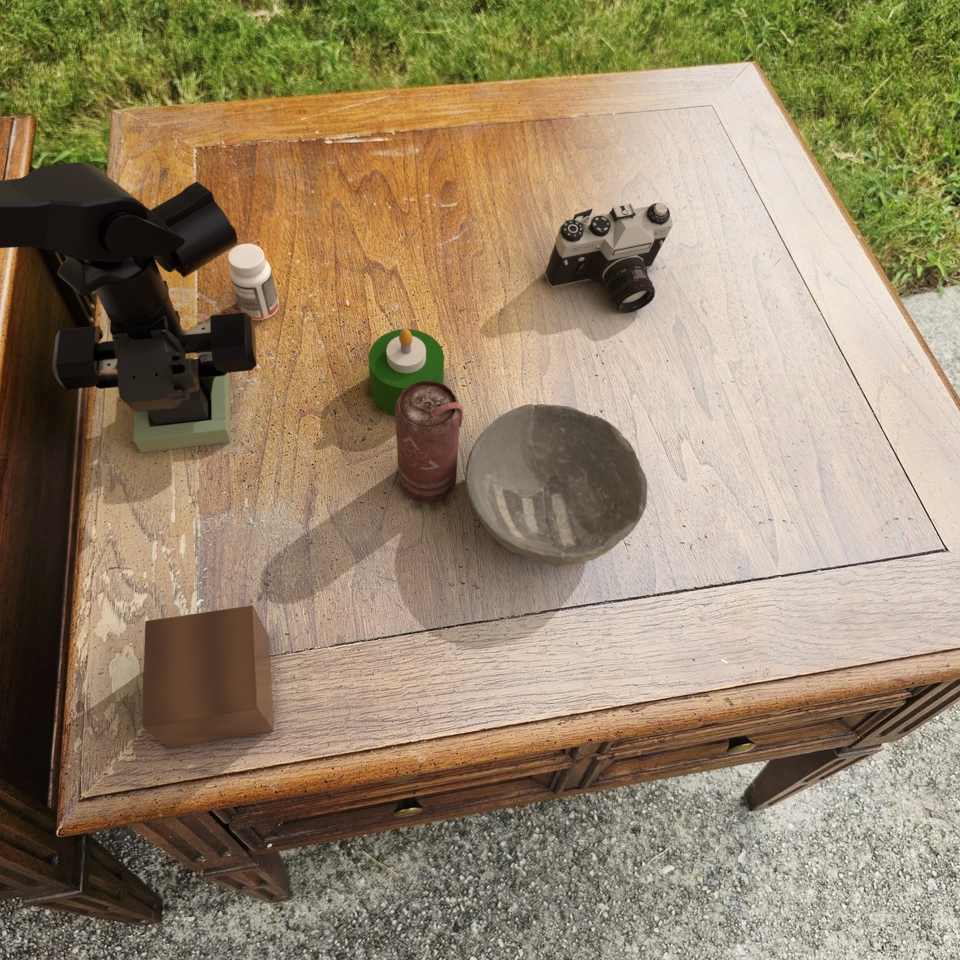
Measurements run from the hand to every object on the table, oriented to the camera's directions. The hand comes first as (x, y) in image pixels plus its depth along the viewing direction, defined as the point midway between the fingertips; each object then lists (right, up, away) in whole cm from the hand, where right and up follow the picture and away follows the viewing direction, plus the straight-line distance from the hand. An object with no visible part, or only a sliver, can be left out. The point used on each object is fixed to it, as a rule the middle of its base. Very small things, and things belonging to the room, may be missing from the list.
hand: (180, 399), depth 86 cm
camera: (+49, +16, +16) cm, 54 cm away
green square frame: (0, -1, +2) cm, 2 cm away
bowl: (+40, -12, -2) cm, 41 cm away
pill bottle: (+6, +12, +11) cm, 17 cm away
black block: (0, 0, 0) cm, 0 cm away
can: (+27, -9, 0) cm, 28 cm away
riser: (+9, -28, -13) cm, 32 cm away
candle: (+24, +2, +6) cm, 25 cm away
